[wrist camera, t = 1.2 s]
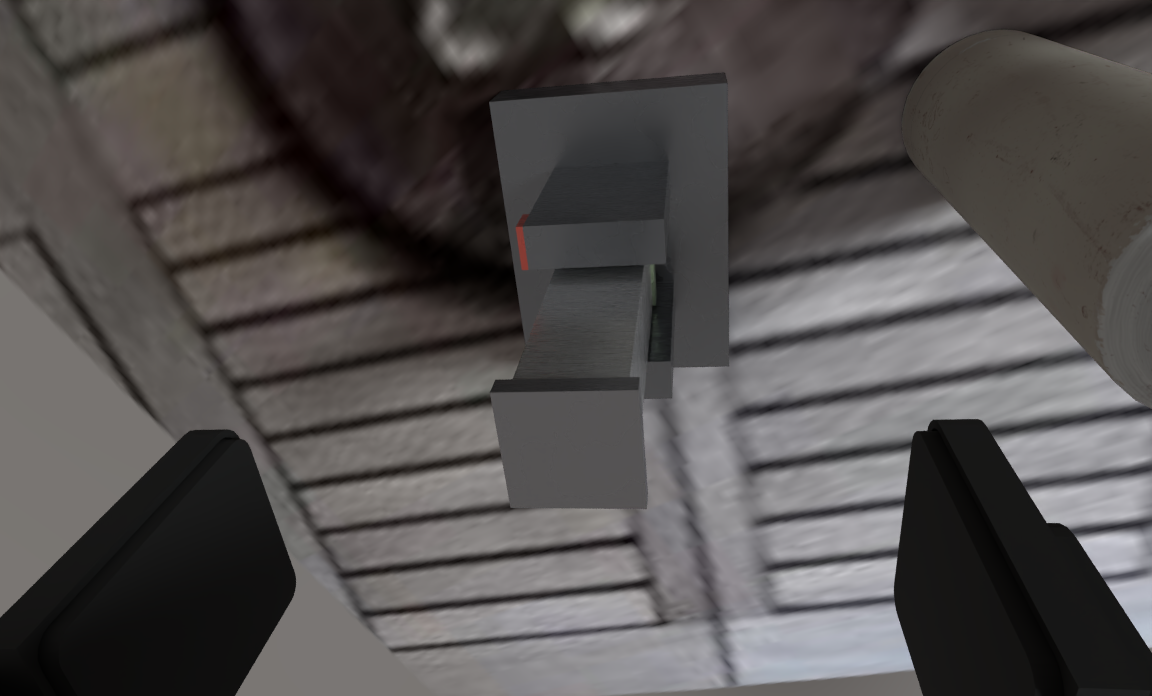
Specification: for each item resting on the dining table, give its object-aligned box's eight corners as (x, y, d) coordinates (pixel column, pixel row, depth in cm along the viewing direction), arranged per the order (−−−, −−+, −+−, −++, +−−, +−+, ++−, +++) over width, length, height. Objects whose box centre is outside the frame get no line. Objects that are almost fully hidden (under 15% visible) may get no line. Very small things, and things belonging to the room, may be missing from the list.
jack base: (501, 90, 42) (439, 146, 31) (724, 72, 40) (737, 126, 29) (537, 346, 49) (497, 460, 39) (726, 341, 47) (737, 459, 37)
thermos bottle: (1080, 153, 39) (1703, 522, 15) (920, 209, 42) (1238, 605, 18) (1055, 0, 36) (1788, 157, 12) (883, 70, 39) (1208, 319, 15)
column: (568, 205, 41) (490, 392, 25) (658, 200, 40) (638, 390, 24) (577, 286, 43) (510, 507, 27) (662, 283, 42) (646, 508, 26)
